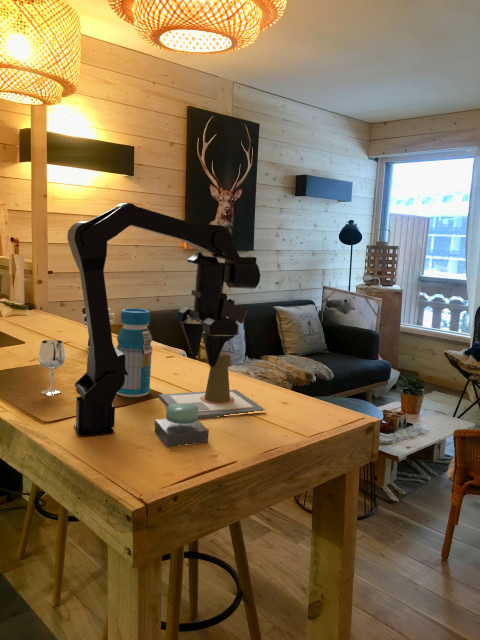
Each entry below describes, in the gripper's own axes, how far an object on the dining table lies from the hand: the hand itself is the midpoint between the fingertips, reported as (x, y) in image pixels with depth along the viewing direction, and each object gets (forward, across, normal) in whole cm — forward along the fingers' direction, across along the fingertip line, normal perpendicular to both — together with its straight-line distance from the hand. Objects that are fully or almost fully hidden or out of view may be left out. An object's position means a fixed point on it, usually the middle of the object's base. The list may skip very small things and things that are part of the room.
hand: (203, 361), depth 113 cm
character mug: (+13, +71, +6) cm, 72 cm away
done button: (+9, -9, +7) cm, 15 cm away
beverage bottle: (+13, +21, +8) cm, 26 cm away
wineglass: (+13, +26, +26) cm, 39 cm away
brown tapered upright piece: (+11, +8, -8) cm, 16 cm away
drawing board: (+12, +8, -6) cm, 16 cm away
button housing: (+13, -9, +7) cm, 17 cm away
